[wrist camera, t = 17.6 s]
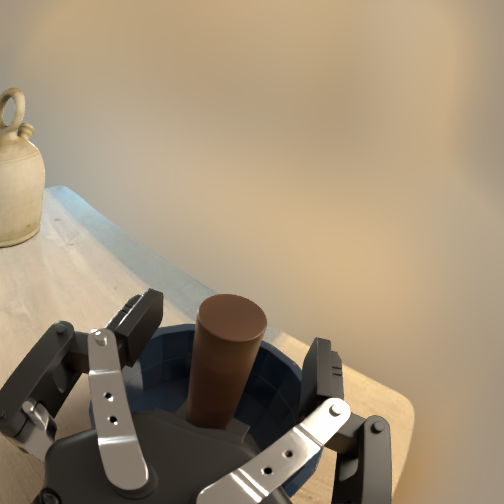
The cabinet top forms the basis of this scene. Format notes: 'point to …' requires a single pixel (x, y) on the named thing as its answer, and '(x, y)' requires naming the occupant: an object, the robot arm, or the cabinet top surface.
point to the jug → (19, 176)
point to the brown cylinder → (222, 361)
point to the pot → (251, 402)
